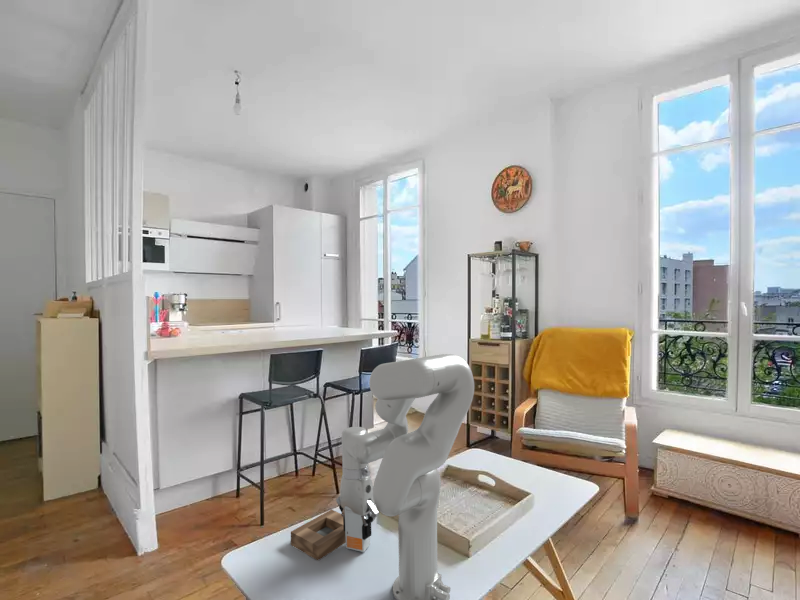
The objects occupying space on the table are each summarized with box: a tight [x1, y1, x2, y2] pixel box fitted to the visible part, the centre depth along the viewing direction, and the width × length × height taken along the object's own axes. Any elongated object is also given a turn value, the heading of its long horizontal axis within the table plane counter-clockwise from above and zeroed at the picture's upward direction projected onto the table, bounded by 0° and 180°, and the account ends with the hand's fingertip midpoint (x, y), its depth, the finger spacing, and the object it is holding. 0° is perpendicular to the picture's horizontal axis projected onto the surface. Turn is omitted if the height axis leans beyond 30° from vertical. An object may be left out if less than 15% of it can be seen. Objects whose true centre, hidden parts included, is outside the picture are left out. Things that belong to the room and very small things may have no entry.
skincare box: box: [345, 506, 371, 553], centre depth 121 cm, size 6×4×12 cm
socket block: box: [290, 509, 346, 561], centre depth 125 cm, size 12×16×4 cm
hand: (357, 532), depth 121 cm, fingers closed on skincare box, 6 cm apart
